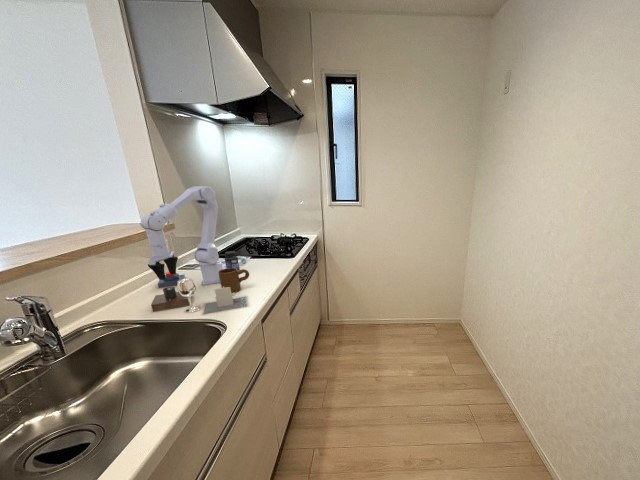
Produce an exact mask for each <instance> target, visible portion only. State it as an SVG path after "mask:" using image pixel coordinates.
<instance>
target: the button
mask: <svg viewBox="0 0 640 480" xmlns="http://www.w3.org/2000/svg"><path fill="white" fill-rule="evenodd" d="M165 275H166V277H170V276H175V274H170V273H169V271H166V272H165Z"/></svg>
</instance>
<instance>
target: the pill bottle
mask: <svg viewBox="0 0 640 480" xmlns="http://www.w3.org/2000/svg"><path fill="white" fill-rule="evenodd" d="M224 255H225V257H224V263H225V269H228V268H235V269H237V271H240V270H241V269H240V264H239V263H240V262H239V258H238V256H237V255H236V252H235V251H234V250H229V251H226V252H224Z"/></svg>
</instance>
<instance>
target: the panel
mask: <svg viewBox="0 0 640 480" xmlns="http://www.w3.org/2000/svg"><path fill="white" fill-rule="evenodd" d="M176 294H177V296H176V297H174V298H171V299H166V298H165V296H164V293H161V294H156V295H155V296H154V298H153V300H152V302H151V304H150V306H151V310H152V312H153V313H154V312H161V311H166V310H172V309H178V308H183V307H184V308H185V307H188V306H189V307H190V306H191V305H190V302H189V300H188V297H183V296H181V295H180V294H179V292H178V291H176ZM190 297H191V298H192V296H190Z"/></svg>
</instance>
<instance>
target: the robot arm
mask: <svg viewBox="0 0 640 480" xmlns="http://www.w3.org/2000/svg"><path fill="white" fill-rule="evenodd" d="M192 201H193V202H194V201H195V202H197V203H198V204H199V205H200V206H201V208H203V216H202V218H203V219H202V226H201V227H202V228H201V236H200V237H201V238H200V243H199V244H198V245H196V250H195V252H194V254H193V258H194V260H195V261H196V262H198V264H199V268H200V272H201V276H202V285H203V286H204V285H205V286H206V285H211V284H212V285H213V284H218V283H220V278H219V271H220V270H223V269H224V267H223V264H222V262H221V261H219V259H220V255H219V253H218V252H219V248H217V246H216V245H215V241H216V232H217V231H216V230H217V222H218V214H219V213H218V212H219V205H218V201H217V193H216V191H214V189H213V188H212V187H211V186H208V185H205V186H201V185H200V186H199V185H192V186H191V187H189V188H187V189H186V190H185V191H184V192H183V193H181V195H179V196H178V197H177V198H175V199H174V200H173V201H172V202H171V203H160V204H159V205H158V206H159V207H158V208H156V209H155V210H153V211H150V212H149V214H147V215H144V216H142V218H141V220H140V223H139V225H140V226H141V228H143V229H144V231H145V234H146V236H147V240H148V244H149V247H150V249H151V253H152V257H151V258H150V259H148V260H147V262H148V263H147V267H148V268H149V269H150V270H151V271H152V272H154V274H155V275H156V276H157V279H158V281H159V280H165V275H166V274H165V273H166V272H165V266H166V267H167V270H168V272H169V273H170V274H176V273H177V264H178V260H179V257H178V256H176V253H175V250H172V251H170V250H169V245H168V242H167V238H166V236H165V232H164V228H165V226H166V224H167V223H168V222H169V221H171V220H172V219H173V218H175V217H176V216H178V211H179V210H180V209H182V208H183V207H185V206H186V205H188V204H190V203H191V202H192ZM161 262H164V263H161Z"/></svg>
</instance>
